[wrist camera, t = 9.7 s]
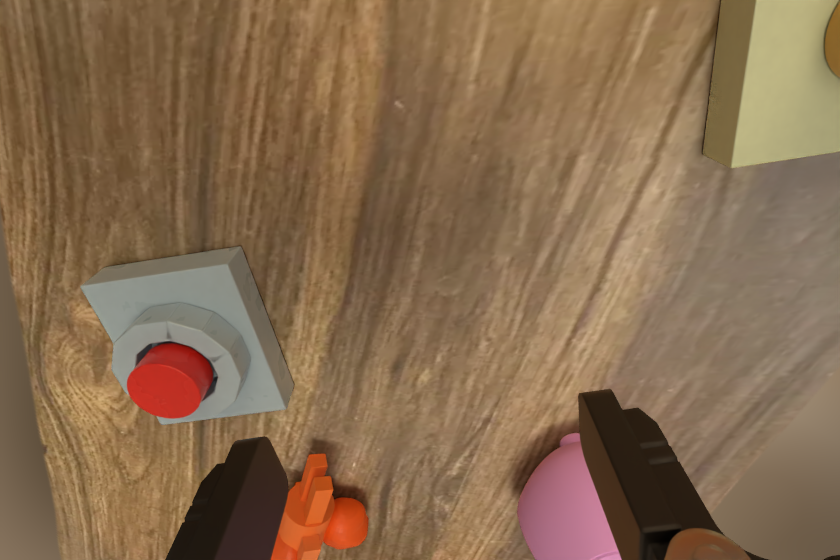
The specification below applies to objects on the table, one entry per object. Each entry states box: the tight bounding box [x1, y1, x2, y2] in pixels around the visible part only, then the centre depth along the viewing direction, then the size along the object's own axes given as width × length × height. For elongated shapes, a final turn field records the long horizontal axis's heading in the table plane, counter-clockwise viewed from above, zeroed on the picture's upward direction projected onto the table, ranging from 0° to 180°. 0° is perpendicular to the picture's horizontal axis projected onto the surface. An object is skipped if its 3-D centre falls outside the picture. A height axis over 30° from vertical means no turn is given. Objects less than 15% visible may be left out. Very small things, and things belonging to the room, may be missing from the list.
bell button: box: [127, 343, 213, 419], centre depth 25 cm, size 4×4×2 cm
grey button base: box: [80, 246, 294, 425], centre depth 27 cm, size 10×8×4 cm
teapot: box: [517, 433, 622, 560], centre depth 31 cm, size 10×15×9 cm
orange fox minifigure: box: [271, 454, 368, 560], centre depth 34 cm, size 5×8×12 cm
